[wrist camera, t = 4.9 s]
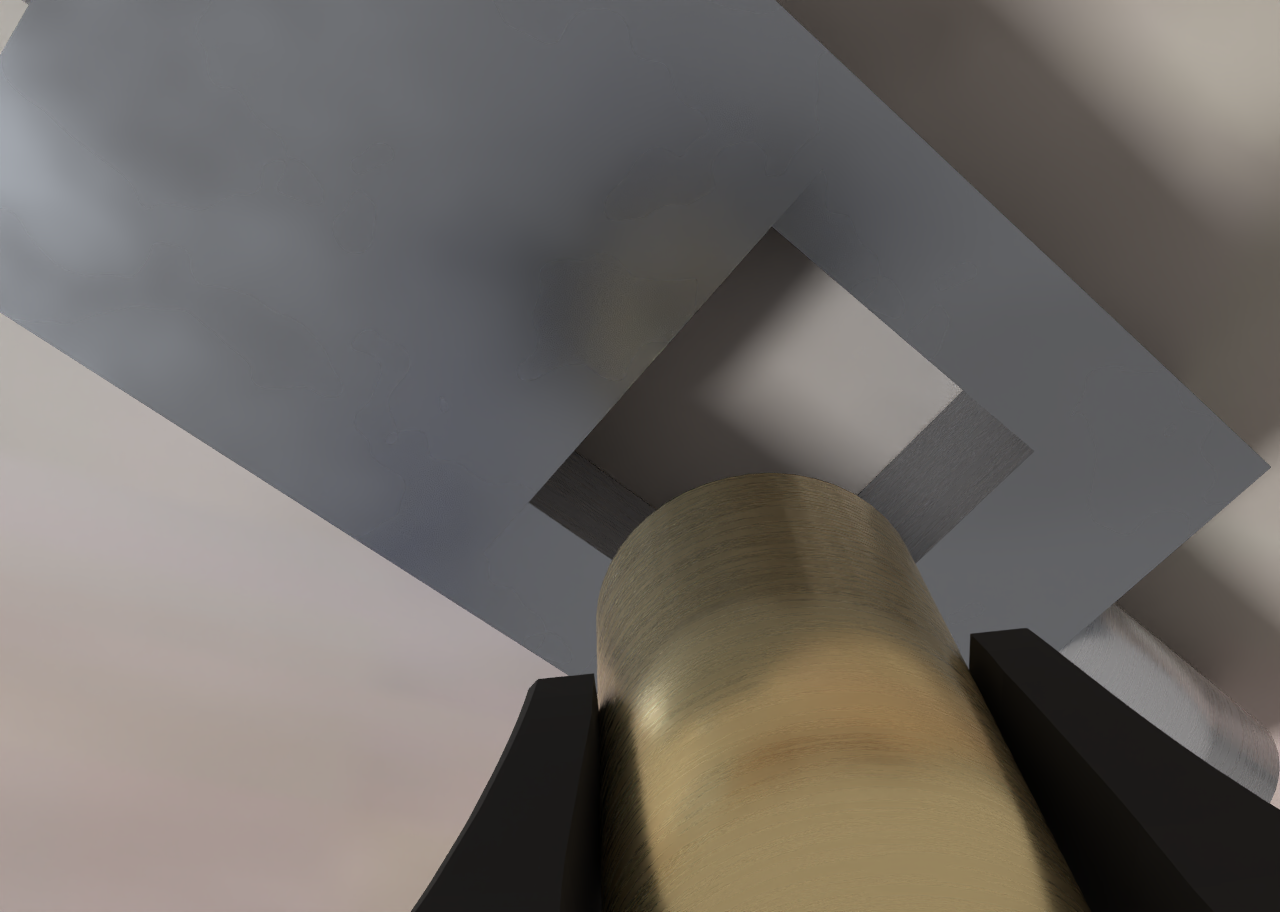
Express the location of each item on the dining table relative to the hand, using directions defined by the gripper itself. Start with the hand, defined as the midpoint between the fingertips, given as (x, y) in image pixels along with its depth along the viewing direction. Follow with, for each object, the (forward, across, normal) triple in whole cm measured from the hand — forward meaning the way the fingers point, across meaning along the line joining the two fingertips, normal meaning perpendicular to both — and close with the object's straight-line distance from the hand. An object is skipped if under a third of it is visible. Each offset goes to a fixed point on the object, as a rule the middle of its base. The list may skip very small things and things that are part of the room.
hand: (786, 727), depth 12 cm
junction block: (+9, +1, -2) cm, 9 cm away
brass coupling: (+2, 0, 0) cm, 2 cm away
